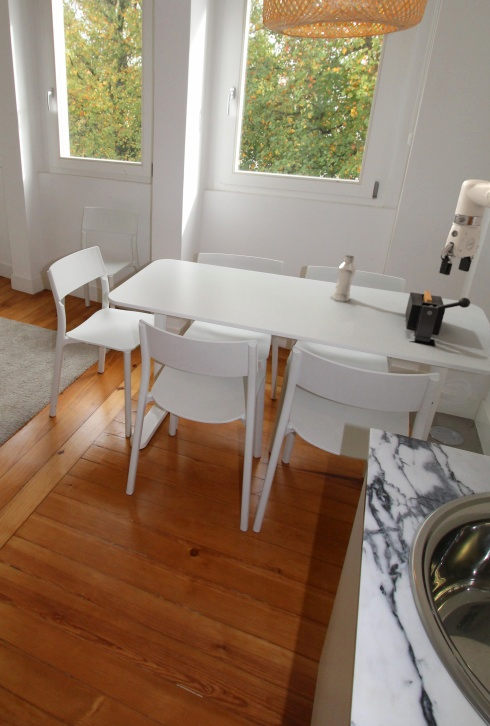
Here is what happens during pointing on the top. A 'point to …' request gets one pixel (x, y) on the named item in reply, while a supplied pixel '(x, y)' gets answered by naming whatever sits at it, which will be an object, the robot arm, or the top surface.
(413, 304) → the toaster
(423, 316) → the lever bracket
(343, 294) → the plastic bottle
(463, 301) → the toaster lever
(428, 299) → the toast
